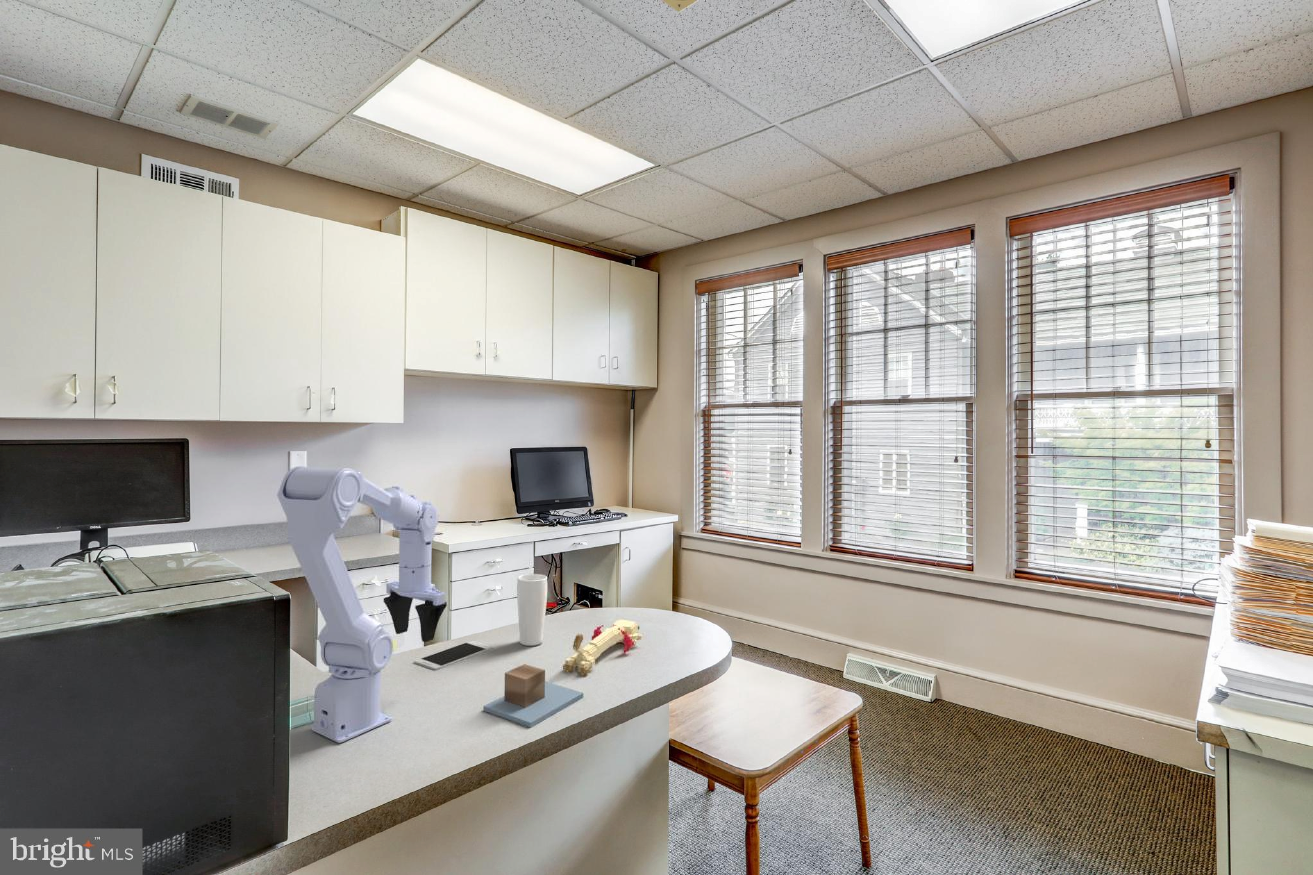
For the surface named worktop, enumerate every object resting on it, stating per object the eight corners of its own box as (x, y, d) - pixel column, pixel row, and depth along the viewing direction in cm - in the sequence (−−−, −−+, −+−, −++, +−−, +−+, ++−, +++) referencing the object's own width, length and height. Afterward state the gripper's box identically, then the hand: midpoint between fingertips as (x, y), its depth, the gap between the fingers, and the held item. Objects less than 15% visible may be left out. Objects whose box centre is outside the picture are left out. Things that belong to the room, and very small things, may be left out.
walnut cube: (525, 707, 111) (525, 679, 110) (504, 700, 113) (504, 672, 113) (544, 697, 115) (545, 670, 115) (524, 690, 117) (524, 664, 117)
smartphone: (494, 650, 141) (494, 646, 141) (435, 672, 128) (435, 668, 128) (472, 643, 145) (472, 639, 145) (413, 664, 132) (413, 660, 132)
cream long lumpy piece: (596, 685, 126) (652, 637, 148) (595, 642, 125) (651, 601, 148) (554, 675, 130) (615, 631, 153) (553, 634, 130) (614, 595, 152)
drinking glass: (513, 639, 147) (514, 575, 146) (542, 636, 150) (543, 572, 149) (520, 649, 141) (520, 582, 140) (550, 645, 143) (551, 579, 143)
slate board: (530, 727, 105) (530, 722, 105) (483, 710, 111) (483, 706, 111) (583, 697, 117) (583, 692, 117) (538, 683, 123) (538, 679, 123)
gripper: (458, 566, 120) (457, 637, 120) (408, 556, 127) (407, 623, 128) (427, 573, 114) (426, 648, 114) (376, 562, 121) (376, 633, 122)
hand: (414, 636), depth 120 cm, fingers open, 7 cm apart
